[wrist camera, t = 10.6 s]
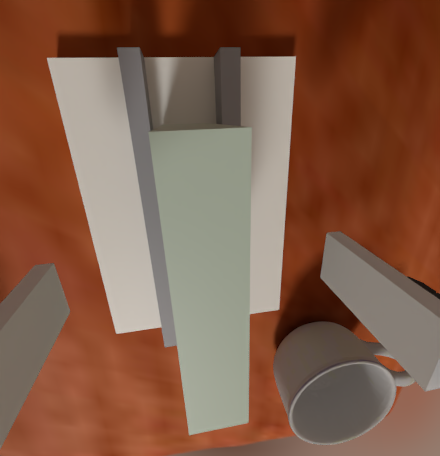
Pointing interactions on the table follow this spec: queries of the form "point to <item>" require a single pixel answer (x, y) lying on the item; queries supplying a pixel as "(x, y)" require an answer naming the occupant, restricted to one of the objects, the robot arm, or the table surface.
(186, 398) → the door panel
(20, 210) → the table surface
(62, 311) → the robot arm
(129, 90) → the track base
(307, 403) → the teacup
